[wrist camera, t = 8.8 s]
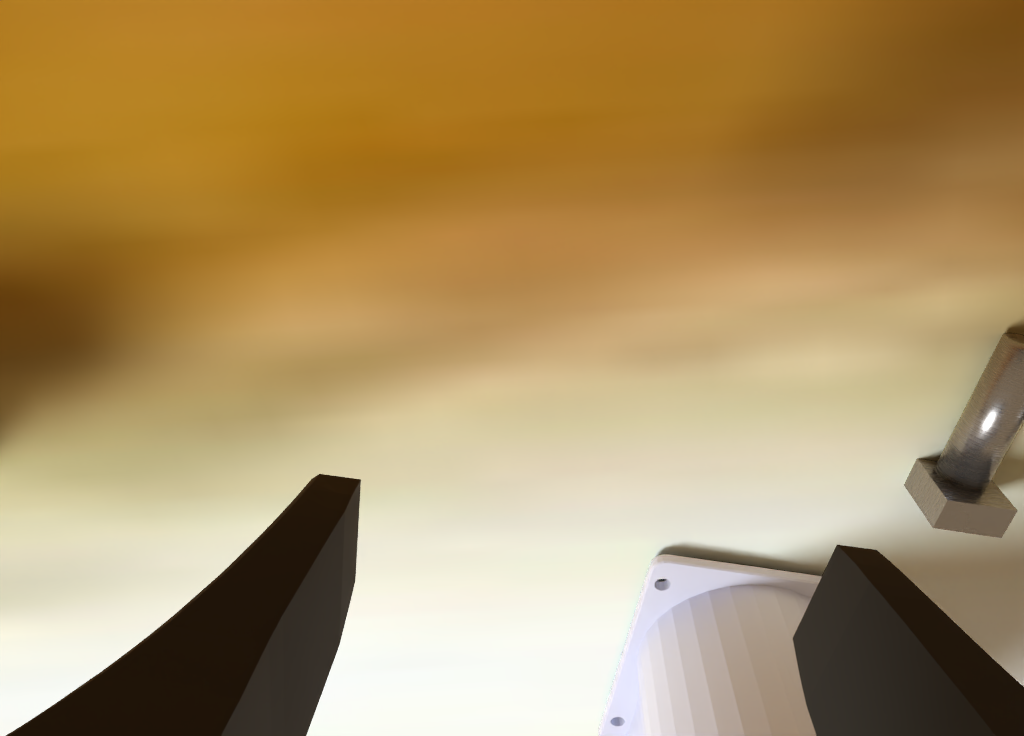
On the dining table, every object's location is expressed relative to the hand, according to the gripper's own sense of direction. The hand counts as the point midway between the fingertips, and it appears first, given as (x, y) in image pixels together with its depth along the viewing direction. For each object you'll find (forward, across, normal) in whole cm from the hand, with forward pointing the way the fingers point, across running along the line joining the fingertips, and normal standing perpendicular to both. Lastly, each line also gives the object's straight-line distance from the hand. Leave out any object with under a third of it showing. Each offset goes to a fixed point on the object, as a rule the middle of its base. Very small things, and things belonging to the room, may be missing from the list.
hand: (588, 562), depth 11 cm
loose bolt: (+10, -12, +2) cm, 16 cm away
